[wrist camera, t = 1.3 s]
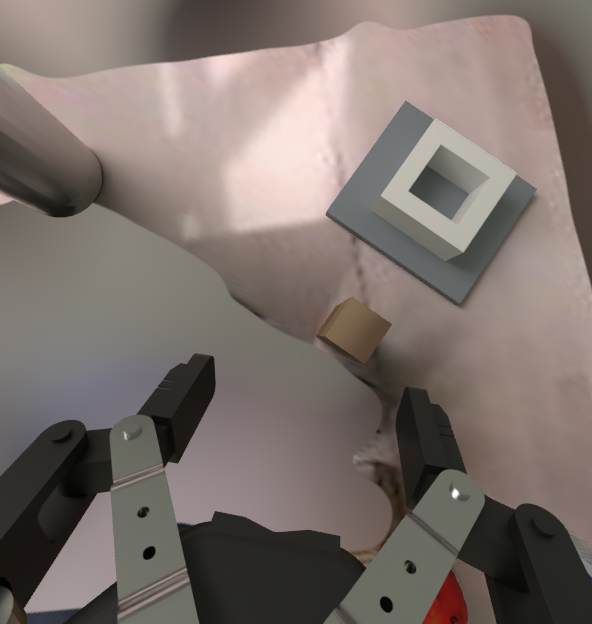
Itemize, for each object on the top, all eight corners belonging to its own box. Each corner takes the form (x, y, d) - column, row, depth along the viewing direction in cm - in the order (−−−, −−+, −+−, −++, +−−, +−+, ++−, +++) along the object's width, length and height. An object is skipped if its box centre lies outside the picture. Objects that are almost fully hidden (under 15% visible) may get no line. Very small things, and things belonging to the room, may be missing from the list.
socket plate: (325, 214, 38) (330, 196, 33) (402, 106, 39) (419, 73, 34) (455, 304, 38) (480, 300, 33) (530, 192, 39) (566, 171, 34)
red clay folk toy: (361, 548, 36) (411, 703, 21) (413, 509, 36) (499, 634, 21) (403, 609, 35) (485, 810, 20) (455, 568, 36) (573, 737, 21)
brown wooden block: (315, 335, 37) (324, 336, 27) (336, 306, 37) (352, 296, 27) (345, 356, 37) (364, 364, 27) (365, 326, 37) (391, 324, 27)
